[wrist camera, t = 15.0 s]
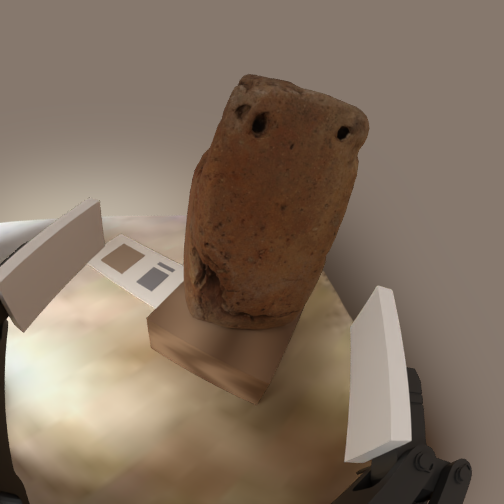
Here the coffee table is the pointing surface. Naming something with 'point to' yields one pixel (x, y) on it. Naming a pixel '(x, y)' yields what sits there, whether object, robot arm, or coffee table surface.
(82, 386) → the coffee table surface
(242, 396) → the tower base
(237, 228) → the block
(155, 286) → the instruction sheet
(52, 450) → the coffee table surface
